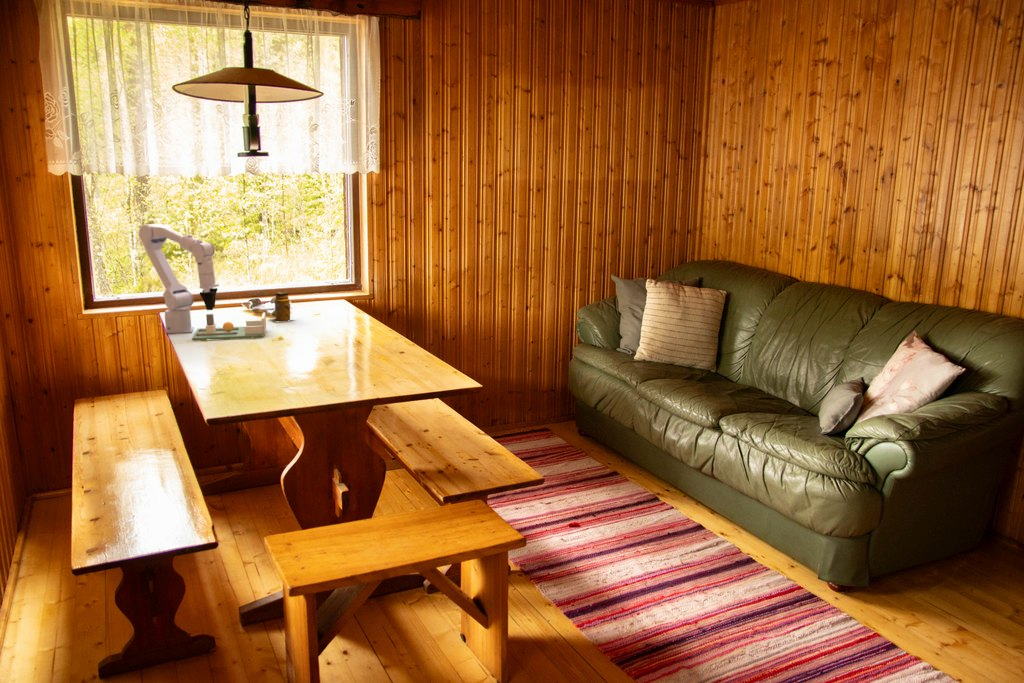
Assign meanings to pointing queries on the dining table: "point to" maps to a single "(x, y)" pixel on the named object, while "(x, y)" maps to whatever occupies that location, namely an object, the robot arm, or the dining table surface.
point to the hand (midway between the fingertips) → (210, 308)
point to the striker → (210, 324)
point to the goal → (256, 326)
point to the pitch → (223, 334)
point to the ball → (228, 326)
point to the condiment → (282, 307)
